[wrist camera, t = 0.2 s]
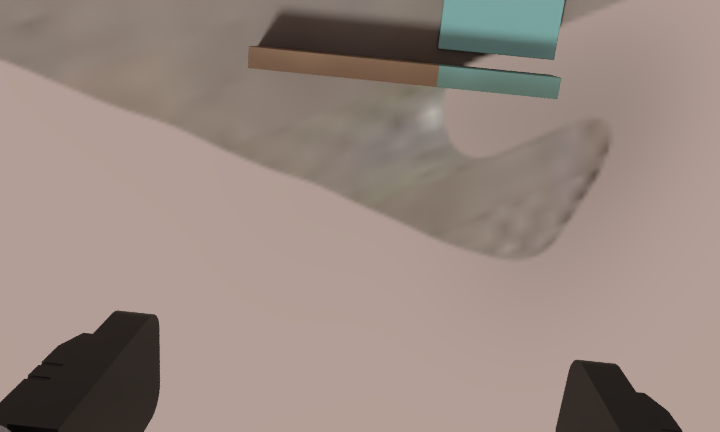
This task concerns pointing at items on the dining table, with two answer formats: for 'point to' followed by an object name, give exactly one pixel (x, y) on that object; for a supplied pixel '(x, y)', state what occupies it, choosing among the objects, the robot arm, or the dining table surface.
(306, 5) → the dining table surface
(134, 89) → the dining table surface
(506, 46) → the front pad
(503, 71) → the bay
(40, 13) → the dining table surface
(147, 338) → the robot arm
